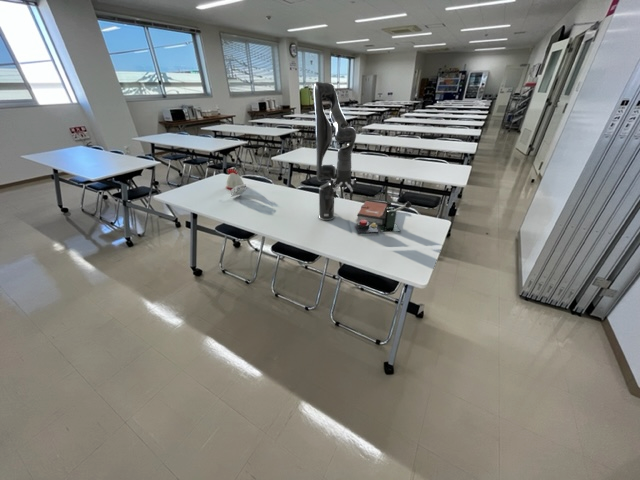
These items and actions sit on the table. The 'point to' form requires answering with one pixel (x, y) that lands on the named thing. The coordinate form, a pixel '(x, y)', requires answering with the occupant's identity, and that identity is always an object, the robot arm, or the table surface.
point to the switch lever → (403, 206)
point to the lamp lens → (373, 225)
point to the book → (373, 211)
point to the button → (363, 222)
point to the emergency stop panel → (365, 228)
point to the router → (238, 190)
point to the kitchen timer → (233, 180)
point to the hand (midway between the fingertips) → (342, 197)
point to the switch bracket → (389, 221)
